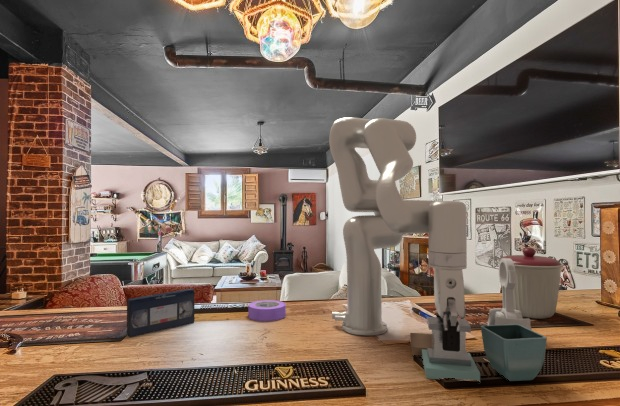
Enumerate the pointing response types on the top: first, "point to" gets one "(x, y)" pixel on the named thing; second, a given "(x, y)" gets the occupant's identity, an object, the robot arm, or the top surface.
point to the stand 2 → (449, 369)
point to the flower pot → (514, 350)
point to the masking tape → (266, 310)
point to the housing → (437, 352)
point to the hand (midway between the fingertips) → (447, 341)
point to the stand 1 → (420, 342)
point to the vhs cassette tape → (160, 312)
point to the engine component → (507, 298)
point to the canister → (535, 284)
